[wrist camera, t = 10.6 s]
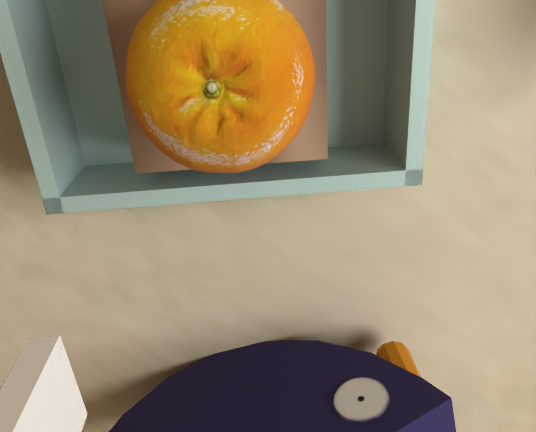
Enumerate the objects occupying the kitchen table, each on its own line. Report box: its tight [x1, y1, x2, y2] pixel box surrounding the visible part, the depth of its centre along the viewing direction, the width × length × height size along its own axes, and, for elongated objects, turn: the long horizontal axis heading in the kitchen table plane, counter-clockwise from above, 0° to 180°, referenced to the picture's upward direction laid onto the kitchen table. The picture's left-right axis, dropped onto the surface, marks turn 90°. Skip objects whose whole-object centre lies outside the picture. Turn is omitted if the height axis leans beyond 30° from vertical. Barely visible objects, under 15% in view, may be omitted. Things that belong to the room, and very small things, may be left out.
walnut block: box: [102, 0, 328, 174], centre depth 28 cm, size 11×11×5 cm
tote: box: [0, 0, 436, 214], centre depth 29 cm, size 22×15×6 cm
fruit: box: [125, 0, 315, 173], centre depth 23 cm, size 8×8×8 cm
